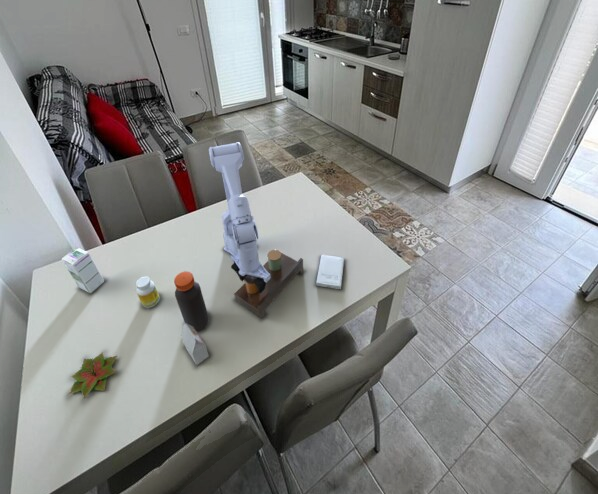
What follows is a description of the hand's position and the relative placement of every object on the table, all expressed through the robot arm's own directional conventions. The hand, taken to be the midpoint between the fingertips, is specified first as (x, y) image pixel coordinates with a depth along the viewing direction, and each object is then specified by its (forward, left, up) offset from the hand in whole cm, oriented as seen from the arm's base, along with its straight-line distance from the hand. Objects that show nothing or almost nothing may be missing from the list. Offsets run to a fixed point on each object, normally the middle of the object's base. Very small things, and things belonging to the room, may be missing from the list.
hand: (252, 284), depth 105 cm
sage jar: (0, +11, -2) cm, 11 cm away
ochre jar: (0, 0, -2) cm, 2 cm away
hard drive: (+15, +22, -5) cm, 27 cm away
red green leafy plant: (-18, -43, -5) cm, 47 cm away
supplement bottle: (-26, -21, -5) cm, 33 cm away
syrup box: (-48, -29, -5) cm, 56 cm away
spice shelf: (+2, +6, -5) cm, 8 cm away
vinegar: (-8, -17, -5) cm, 19 cm away
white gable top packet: (-1, -23, -5) cm, 24 cm away
